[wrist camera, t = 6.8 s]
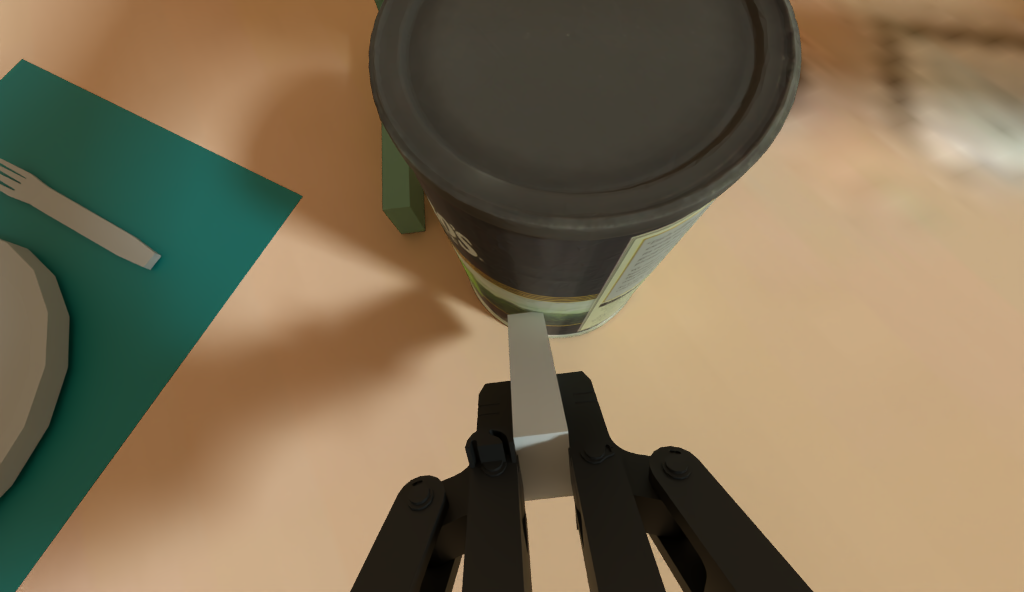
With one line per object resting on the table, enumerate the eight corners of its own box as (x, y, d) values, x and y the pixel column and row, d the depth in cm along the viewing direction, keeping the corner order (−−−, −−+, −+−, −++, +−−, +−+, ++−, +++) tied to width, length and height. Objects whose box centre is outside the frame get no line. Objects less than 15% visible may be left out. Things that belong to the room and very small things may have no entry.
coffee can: (486, 360, 21) (398, 279, 8) (452, 199, 24) (344, -65, 11) (668, 316, 21) (895, 158, 8) (612, 160, 24) (706, -151, 11)
